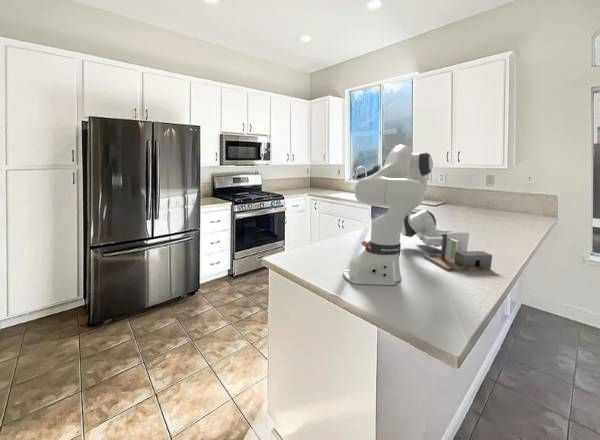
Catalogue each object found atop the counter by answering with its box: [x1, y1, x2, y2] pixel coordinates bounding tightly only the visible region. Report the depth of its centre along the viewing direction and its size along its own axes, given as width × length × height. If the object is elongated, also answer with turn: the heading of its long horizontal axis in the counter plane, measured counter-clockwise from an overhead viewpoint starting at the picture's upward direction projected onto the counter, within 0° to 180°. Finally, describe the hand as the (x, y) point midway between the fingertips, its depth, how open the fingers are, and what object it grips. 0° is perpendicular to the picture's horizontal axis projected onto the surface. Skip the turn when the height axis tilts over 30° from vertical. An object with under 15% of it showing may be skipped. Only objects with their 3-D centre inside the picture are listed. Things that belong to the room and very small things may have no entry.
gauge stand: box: [423, 237, 493, 272], centre depth 143 cm, size 20×19×11 cm
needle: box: [440, 234, 447, 259], centre depth 145 cm, size 1×1×12 cm
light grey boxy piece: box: [440, 231, 470, 252], centre depth 143 cm, size 14×12×11 cm
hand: (452, 244), depth 151 cm, fingers closed
